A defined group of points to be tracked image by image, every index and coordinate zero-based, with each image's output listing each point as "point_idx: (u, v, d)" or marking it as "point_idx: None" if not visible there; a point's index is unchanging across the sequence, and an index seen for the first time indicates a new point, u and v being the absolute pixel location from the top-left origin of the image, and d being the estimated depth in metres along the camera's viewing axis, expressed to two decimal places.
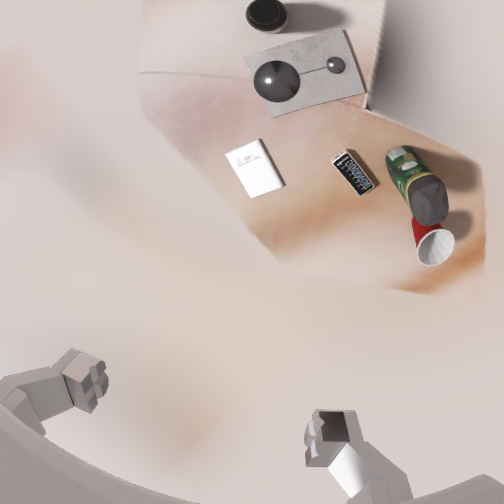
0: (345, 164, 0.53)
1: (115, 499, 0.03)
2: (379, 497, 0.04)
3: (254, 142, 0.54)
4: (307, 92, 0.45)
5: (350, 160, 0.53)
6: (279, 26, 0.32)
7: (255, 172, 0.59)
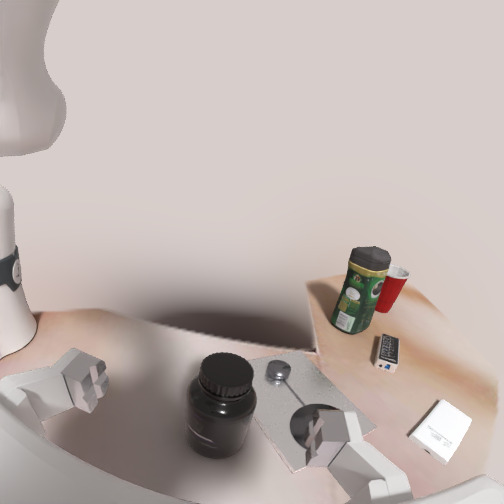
0: (388, 356, 0.44)
1: (115, 499, 0.03)
2: (379, 497, 0.04)
3: (416, 436, 0.26)
4: (325, 396, 0.34)
5: (382, 354, 0.44)
6: None
7: (446, 425, 0.26)
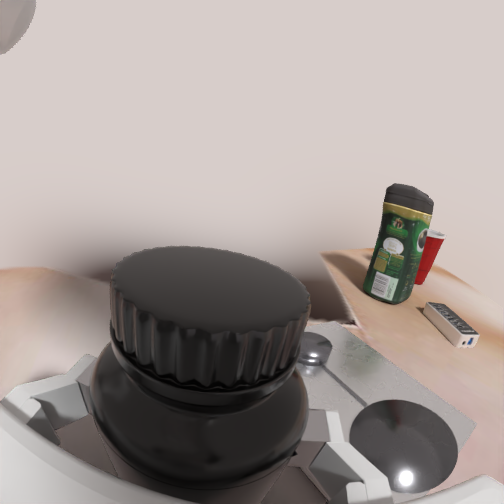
0: (463, 327, 0.28)
1: (115, 499, 0.03)
2: (357, 500, 0.04)
3: None
4: (392, 386, 0.18)
5: (457, 327, 0.27)
6: None
7: None
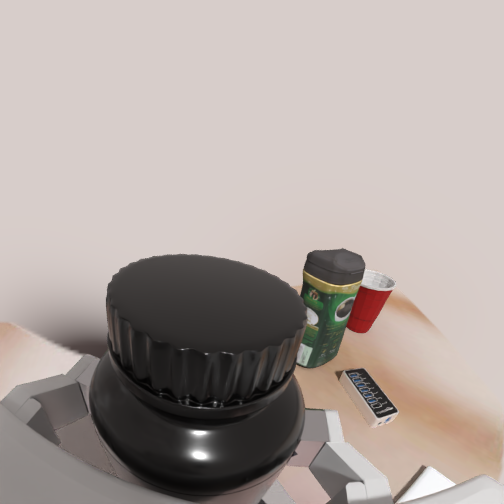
0: (381, 405, 0.30)
1: (115, 499, 0.03)
2: (356, 500, 0.04)
3: None
4: None
5: (374, 408, 0.29)
6: None
7: None
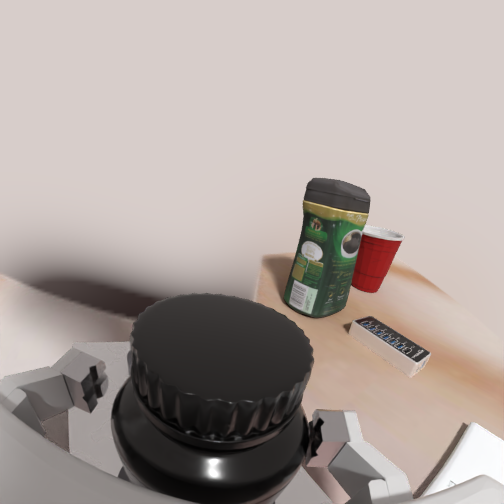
0: (411, 349, 0.26)
1: (115, 499, 0.03)
2: (379, 497, 0.04)
3: None
4: None
5: (406, 353, 0.25)
6: None
7: (482, 472, 0.09)
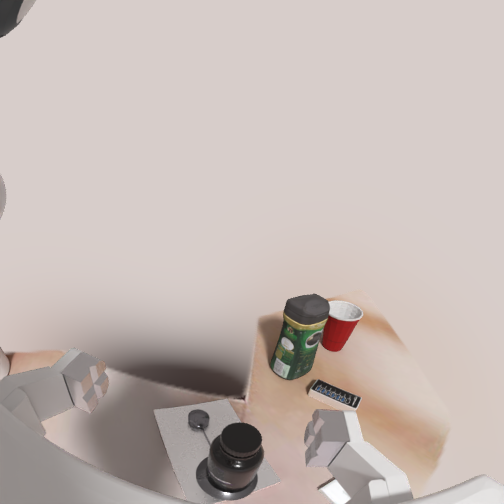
0: (350, 399, 0.47)
1: (115, 499, 0.03)
2: (379, 497, 0.04)
3: (324, 491, 0.27)
4: None
5: (348, 403, 0.46)
6: None
7: None
